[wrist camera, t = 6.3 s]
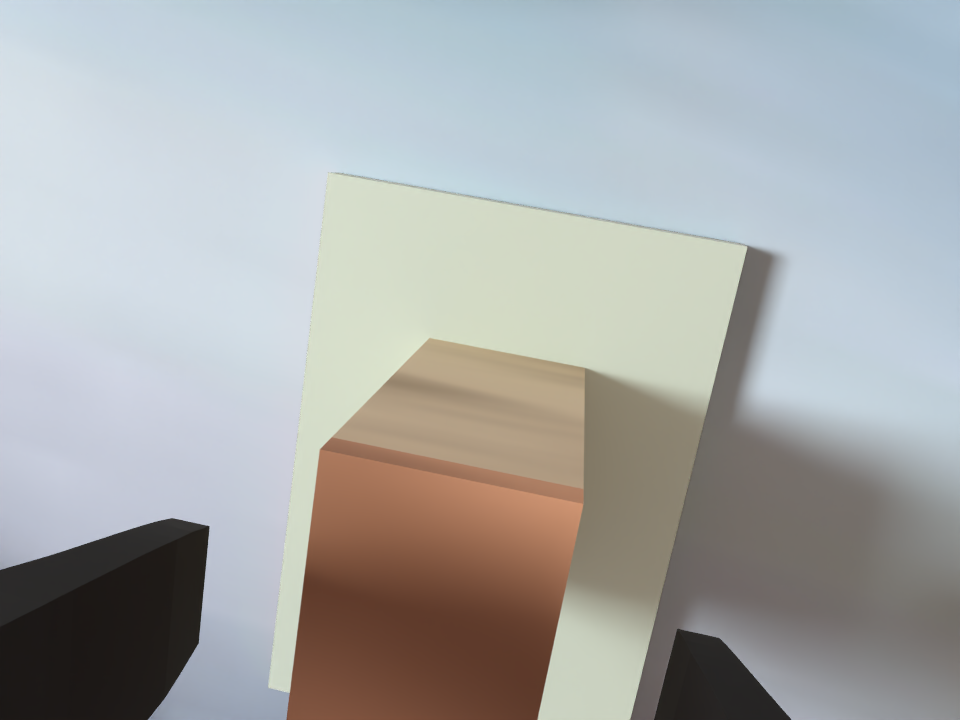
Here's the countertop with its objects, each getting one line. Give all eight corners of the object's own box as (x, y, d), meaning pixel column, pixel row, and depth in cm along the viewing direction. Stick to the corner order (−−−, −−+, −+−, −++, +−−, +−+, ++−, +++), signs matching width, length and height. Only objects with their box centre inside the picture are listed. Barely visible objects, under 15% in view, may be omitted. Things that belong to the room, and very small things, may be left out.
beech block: (543, 571, 19) (515, 824, 11) (398, 540, 19) (280, 766, 12) (585, 367, 17) (582, 503, 10) (429, 337, 18) (319, 449, 10)
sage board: (616, 748, 20) (617, 770, 19) (279, 668, 21) (268, 687, 20) (740, 243, 17) (747, 246, 16) (339, 172, 18) (328, 172, 17)
